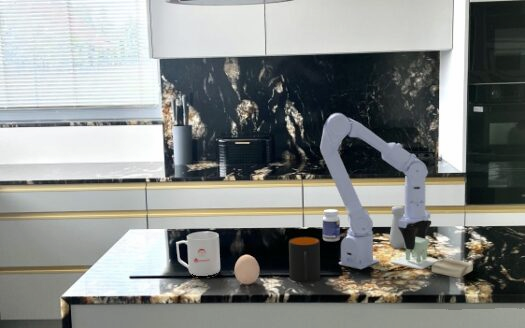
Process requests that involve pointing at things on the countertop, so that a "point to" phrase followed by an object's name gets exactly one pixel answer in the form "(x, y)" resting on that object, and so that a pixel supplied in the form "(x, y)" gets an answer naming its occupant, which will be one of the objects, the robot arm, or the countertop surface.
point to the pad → (414, 262)
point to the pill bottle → (331, 225)
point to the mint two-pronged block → (418, 249)
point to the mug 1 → (202, 253)
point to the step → (452, 267)
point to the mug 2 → (304, 259)
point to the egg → (246, 269)
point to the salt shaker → (396, 227)
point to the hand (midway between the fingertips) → (414, 247)
